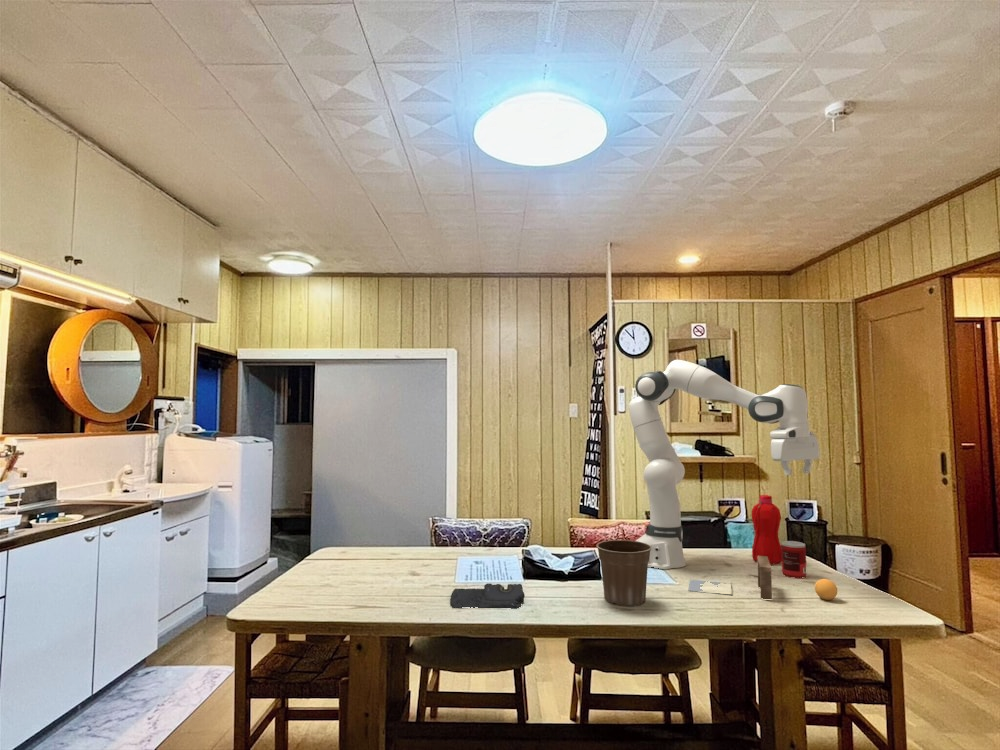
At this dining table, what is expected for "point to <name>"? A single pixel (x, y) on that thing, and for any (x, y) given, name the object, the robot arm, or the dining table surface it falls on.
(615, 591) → the plant pot
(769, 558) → the water bottle
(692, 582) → the flat gray rectangular panel
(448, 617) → the dining table surface
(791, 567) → the canned food
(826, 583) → the ball
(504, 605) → the dark slate chunk
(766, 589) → the wooden staple shape
